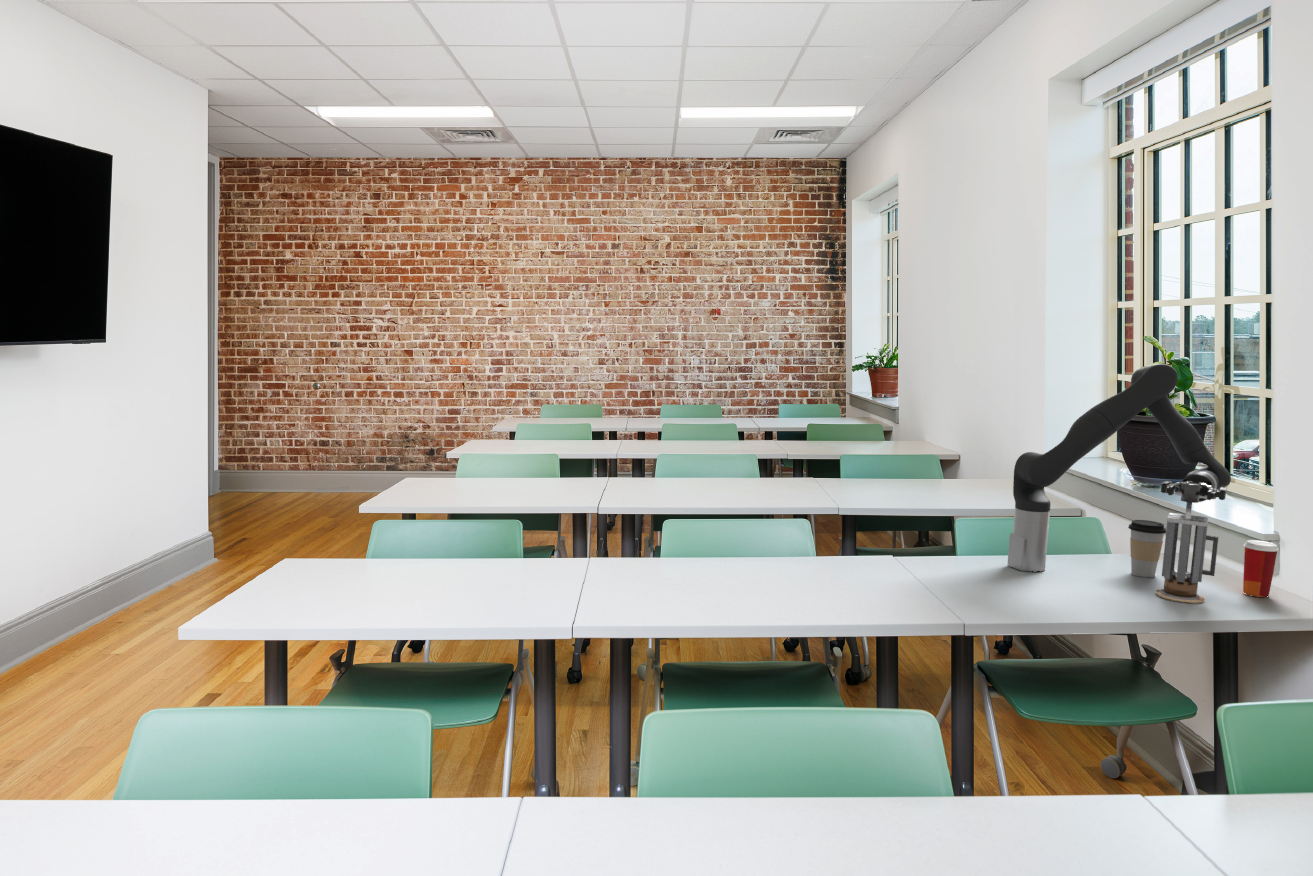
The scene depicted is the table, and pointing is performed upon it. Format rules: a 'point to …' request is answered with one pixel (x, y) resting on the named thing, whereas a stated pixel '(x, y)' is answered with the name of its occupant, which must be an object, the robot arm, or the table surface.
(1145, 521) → the coffee cup
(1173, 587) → the press frame
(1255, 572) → the paper cup
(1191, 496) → the plunger
